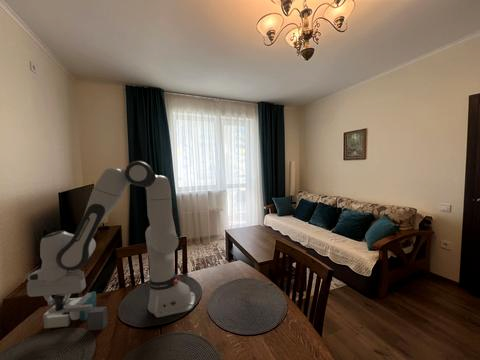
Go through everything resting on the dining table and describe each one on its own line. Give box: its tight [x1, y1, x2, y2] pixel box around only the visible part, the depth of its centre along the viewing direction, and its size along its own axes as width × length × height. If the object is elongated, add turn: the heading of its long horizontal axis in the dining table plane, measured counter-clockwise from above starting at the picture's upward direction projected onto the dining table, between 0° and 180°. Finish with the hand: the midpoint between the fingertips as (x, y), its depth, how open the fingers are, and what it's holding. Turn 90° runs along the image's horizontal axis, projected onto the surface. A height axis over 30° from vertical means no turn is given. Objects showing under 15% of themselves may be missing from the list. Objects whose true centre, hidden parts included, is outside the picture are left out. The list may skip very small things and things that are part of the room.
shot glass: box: [68, 296, 83, 321], centre depth 96 cm, size 7×7×7 cm
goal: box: [43, 296, 77, 329], centre depth 96 cm, size 9×13×6 cm
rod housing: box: [87, 306, 109, 332], centre depth 89 cm, size 6×3×8 cm, turn 96°
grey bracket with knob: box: [47, 291, 98, 322], centre depth 94 cm, size 16×15×15 cm
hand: (58, 303), depth 87 cm, fingers open, 4 cm apart
